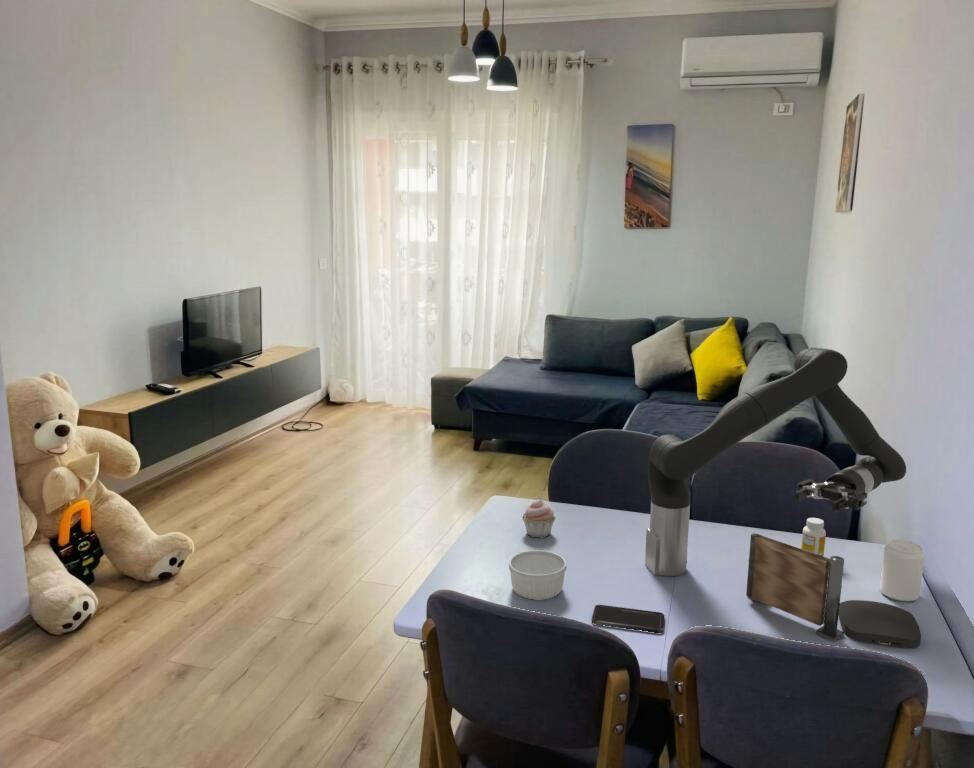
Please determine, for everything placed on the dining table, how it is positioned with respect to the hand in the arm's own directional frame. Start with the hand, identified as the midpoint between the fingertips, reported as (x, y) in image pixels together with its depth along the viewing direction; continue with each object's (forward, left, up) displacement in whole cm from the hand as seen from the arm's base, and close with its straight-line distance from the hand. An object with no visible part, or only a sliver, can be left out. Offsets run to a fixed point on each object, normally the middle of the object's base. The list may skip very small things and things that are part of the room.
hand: (815, 502), depth 174 cm
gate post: (-9, -9, -22) cm, 26 cm away
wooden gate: (-11, -8, -21) cm, 25 cm away
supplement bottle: (+13, +18, -23) cm, 31 cm away
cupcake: (-52, +44, -23) cm, 72 cm away
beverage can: (+21, -4, -23) cm, 31 cm away
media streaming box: (+6, -16, -23) cm, 29 cm away
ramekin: (-60, +13, -23) cm, 66 cm away
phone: (-44, -4, -23) cm, 50 cm away
